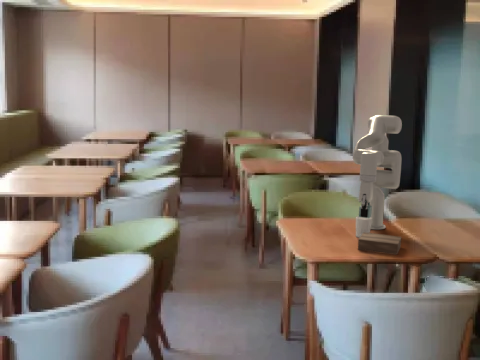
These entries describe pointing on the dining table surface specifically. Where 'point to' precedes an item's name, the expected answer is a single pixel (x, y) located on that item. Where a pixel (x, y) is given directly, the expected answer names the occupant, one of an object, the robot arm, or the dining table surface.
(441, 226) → the dining table surface
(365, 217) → the teal block
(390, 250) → the walnut riser
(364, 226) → the white cup
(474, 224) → the dining table surface
